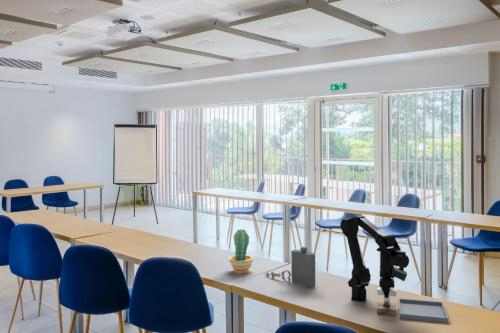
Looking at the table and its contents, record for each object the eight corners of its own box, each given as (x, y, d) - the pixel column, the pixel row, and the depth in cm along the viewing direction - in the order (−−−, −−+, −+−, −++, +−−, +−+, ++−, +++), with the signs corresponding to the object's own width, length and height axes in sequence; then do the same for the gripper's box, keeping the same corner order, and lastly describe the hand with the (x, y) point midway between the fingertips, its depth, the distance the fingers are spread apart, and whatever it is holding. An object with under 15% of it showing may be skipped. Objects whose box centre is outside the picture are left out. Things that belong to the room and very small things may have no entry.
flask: (318, 285, 231) (318, 248, 230) (311, 288, 227) (311, 250, 226) (296, 279, 241) (296, 244, 240) (289, 282, 237) (289, 246, 236)
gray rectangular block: (377, 304, 194) (377, 289, 194) (377, 302, 197) (377, 287, 196) (396, 306, 192) (396, 290, 192) (396, 304, 194) (396, 289, 194)
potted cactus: (257, 268, 265) (256, 227, 264) (250, 275, 251) (249, 232, 249) (233, 266, 270) (232, 226, 268) (225, 273, 255) (224, 231, 253)
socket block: (377, 313, 192) (377, 308, 192) (377, 307, 200) (377, 301, 199) (396, 315, 190) (396, 310, 189) (395, 308, 197) (395, 303, 197)
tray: (399, 318, 187) (399, 313, 187) (398, 302, 205) (398, 298, 205) (448, 322, 181) (448, 318, 181) (442, 306, 199) (442, 302, 199)
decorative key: (266, 280, 251) (292, 282, 236) (264, 280, 250) (290, 282, 235) (264, 268, 251) (290, 269, 237) (263, 269, 250) (288, 270, 236)
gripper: (406, 269, 182) (406, 306, 183) (404, 258, 200) (404, 291, 201) (379, 267, 185) (379, 303, 186) (379, 256, 203) (379, 289, 204)
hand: (386, 296), depth 194 cm, fingers closed on gray rectangular block, 2 cm apart
